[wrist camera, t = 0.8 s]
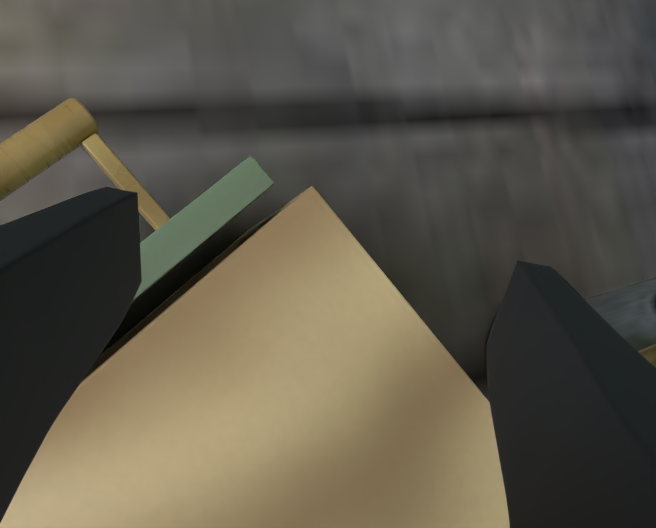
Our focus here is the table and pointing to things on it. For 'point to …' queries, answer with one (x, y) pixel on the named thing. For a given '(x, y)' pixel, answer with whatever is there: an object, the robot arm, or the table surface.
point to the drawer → (130, 186)
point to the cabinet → (273, 404)
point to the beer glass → (630, 315)
